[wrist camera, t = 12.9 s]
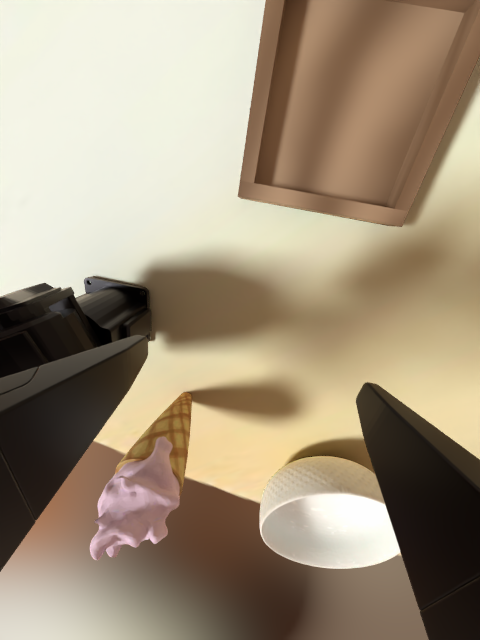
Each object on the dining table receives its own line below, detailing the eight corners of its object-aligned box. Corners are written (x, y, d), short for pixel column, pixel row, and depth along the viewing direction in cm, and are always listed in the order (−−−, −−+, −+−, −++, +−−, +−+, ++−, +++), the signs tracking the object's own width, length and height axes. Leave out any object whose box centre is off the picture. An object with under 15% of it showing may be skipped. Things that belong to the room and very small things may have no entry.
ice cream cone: (163, 369, 27) (56, 527, 13) (213, 378, 26) (157, 549, 13) (164, 409, 29) (78, 572, 16) (210, 417, 29) (161, 590, 16)
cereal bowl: (344, 517, 36) (361, 582, 29) (246, 488, 35) (242, 548, 29) (409, 455, 28) (450, 525, 22) (285, 418, 28) (291, 478, 22)
